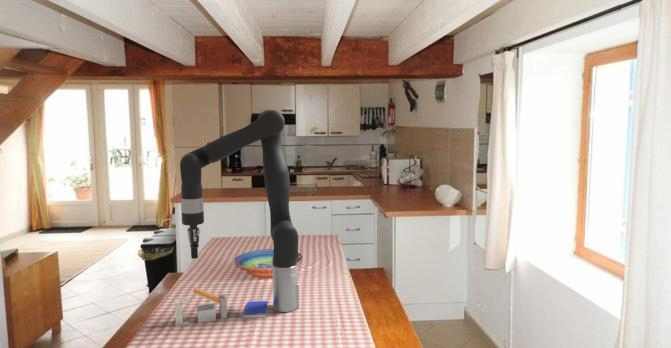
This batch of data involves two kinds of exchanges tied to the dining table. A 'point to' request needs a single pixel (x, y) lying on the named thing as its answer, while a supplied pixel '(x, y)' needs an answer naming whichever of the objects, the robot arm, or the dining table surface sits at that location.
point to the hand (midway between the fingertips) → (194, 257)
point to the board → (222, 311)
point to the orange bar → (207, 295)
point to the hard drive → (256, 309)
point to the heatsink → (206, 313)
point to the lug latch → (179, 309)
